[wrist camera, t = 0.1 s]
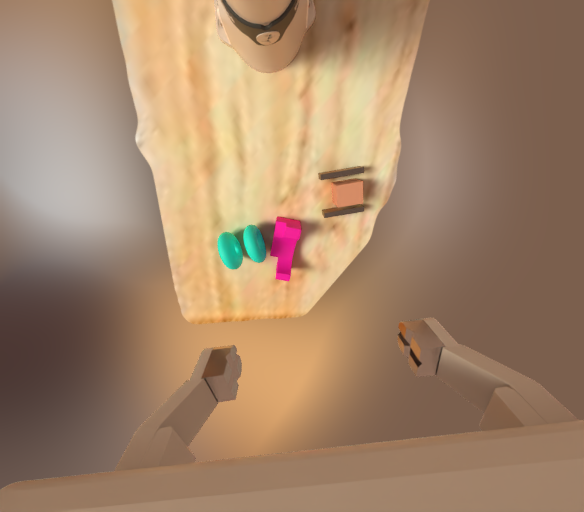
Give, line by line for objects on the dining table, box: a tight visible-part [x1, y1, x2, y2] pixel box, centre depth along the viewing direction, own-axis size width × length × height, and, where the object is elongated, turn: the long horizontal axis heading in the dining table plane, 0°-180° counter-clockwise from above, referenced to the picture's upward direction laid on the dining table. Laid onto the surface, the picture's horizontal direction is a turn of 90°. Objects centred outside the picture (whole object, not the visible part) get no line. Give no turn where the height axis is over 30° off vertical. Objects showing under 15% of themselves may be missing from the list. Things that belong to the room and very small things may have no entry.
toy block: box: [270, 217, 301, 281], centre depth 56 cm, size 15×6×8 cm, turn 168°
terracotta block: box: [331, 179, 363, 208], centre depth 51 cm, size 5×6×6 cm
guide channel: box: [318, 166, 364, 218], centre depth 52 cm, size 10×10×4 cm
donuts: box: [218, 225, 266, 269], centre depth 54 cm, size 10×10×10 cm
